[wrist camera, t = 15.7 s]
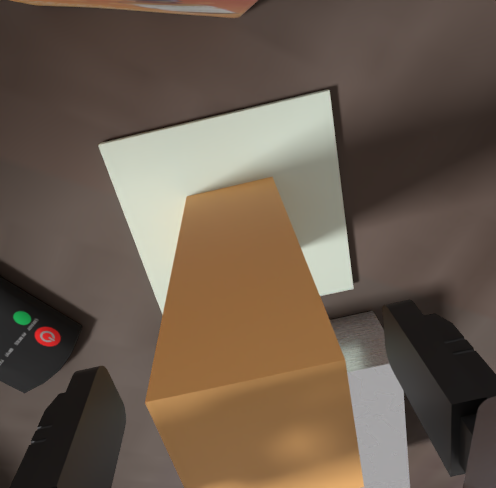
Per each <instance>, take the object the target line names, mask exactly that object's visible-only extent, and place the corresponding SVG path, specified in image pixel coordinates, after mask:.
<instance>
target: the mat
mask: <svg viewBox="0 0 496 488" xmlns="http://www.w3.org/2000/svg"><path fill="white" fill-rule="evenodd" d="M98 146H99V149H100V151H101V154H102V157H103V159H104V162H105V165H106V167H107V170H108V172H109V175H110V178H111V180H112V183H113V186H114V188H115V191H116V194H117V196H118V199H119V201H120V204H121V207H122V209H123V212H124V215H125V217H126V220H127V222H128V225H129V228H130V230H131V233H132V236H133V238H134V241H135V244H136V246H137V249H138V251H139V254H140V257H141V259H142V262H143V265H144V267H145V270H146V272H147V275H148V278H149V280H150V283H151V286H152V288H153V291H154V294H155V296H156V299H157V301H158V304H159V307H160V309H161V312H162V315H163V311H164V306H165V301H166V296H167V291H168V286H169V281H170V276H171V271H172V266H173V261H174V256H175V251H176V247H177V242H178V237H179V232H180V227H181V222H182V217H183V212H184V207H185V202H186V197H187V196H191V195H195V194H200V193H204V192H208V191H213V190H217V189H221V188H225V187H230V186H234V185H238V184H243V183H247V182H251V181H256V180H260V179H264V178H269V177H273V179H274V182H275V184H276V187H277V189H278V192H279V194H280V197H281V199H282V202H283V204H284V207H285V209H286V212H287V214H288V217H289V219H290V222H291V224H292V227H293V229H294V232H295V234H296V237H297V239H298V242H299V245H300V247H301V250H302V252H303V255H304V257H305V260H306V262H307V265H308V267H309V270H310V272H311V275H312V277H313V280H314V282H315V285H316V287H317V290H318V292H319V295H320V296H322V295H327V294H332V293H336V292H341V291H345V290H350V289H354V288H353V280H352V272H351V263H350V255H349V247H348V239H347V230H346V222H345V214H344V205H343V197H342V189H341V181H340V172H339V164H338V156H337V148H336V139H335V131H334V123H333V114H332V106H331V98H330V90H328V89H327V90H323V91H318V92H314V93H310V94H306V95H301V96H297V97H293V98H289V99H284V100H280V101H276V102H272V103H268V104H263V105H259V106H255V107H251V108H246V109H242V110H238V111H234V112H229V113H225V114H221V115H217V116H212V117H208V118H204V119H200V120H196V121H191V122H187V123H183V124H179V125H174V126H170V127H166V128H162V129H157V130H153V131H149V132H145V133H140V134H136V135H132V136H128V137H123V138H119V139H115V140H111V141H107V142H102V143H100V144H99V145H98Z"/></svg>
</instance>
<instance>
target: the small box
mask: <svg viewBox="0 0 496 488" xmlns="http://www.w3.org/2000/svg"><path fill="white" fill-rule="evenodd" d="M10 1H16V2H21V3H26V4H31V5H38V6H70V7H94V8H108V9H122V10H134V11H148V12H160V13H173V14H186V15H199V16H213V17H227V18H238V17H240V16H241V15H242V14H243V13H245V12H246V11H247V10H248V9H249V8H250V7H251V6H252V5H254V4H255V3H256V2H257V1H258V0H10Z"/></svg>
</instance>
